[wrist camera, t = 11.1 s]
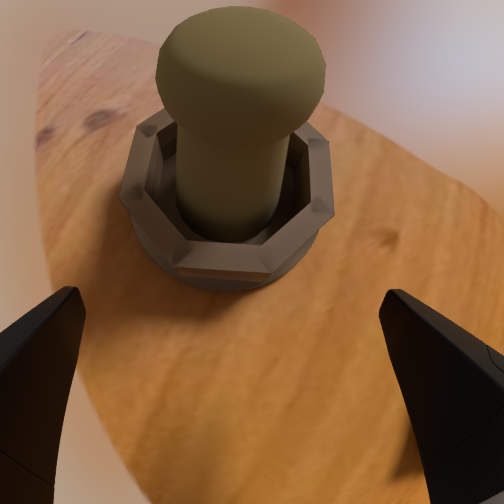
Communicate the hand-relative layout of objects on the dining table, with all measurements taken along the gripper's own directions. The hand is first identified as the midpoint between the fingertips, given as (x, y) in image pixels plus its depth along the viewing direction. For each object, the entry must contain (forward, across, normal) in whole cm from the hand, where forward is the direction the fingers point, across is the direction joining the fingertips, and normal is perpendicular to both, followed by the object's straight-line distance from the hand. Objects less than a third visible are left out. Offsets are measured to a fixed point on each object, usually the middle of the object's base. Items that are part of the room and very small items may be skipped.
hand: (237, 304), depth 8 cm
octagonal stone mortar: (+11, 0, +1) cm, 11 cm away
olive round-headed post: (+10, 0, +1) cm, 10 cm away
